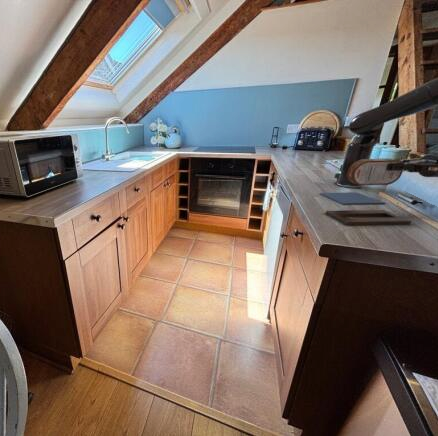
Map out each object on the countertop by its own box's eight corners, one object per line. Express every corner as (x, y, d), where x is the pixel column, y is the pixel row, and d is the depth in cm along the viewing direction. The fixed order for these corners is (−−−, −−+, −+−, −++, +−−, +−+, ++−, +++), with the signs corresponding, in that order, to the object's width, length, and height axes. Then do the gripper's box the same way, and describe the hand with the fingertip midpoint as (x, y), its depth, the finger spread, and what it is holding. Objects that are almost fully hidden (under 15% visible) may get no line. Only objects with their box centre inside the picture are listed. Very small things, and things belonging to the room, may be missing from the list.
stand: (325, 213, 87) (326, 210, 86) (382, 213, 86) (383, 209, 86) (346, 225, 78) (347, 221, 77) (410, 224, 77) (411, 221, 77)
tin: (393, 183, 81) (400, 157, 78) (401, 185, 78) (409, 158, 75) (344, 184, 83) (349, 159, 80) (350, 186, 80) (356, 160, 77)
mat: (320, 194, 108) (320, 193, 108) (356, 193, 108) (356, 192, 108) (343, 204, 95) (343, 203, 95) (384, 203, 95) (384, 202, 95)
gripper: (427, 150, 81) (371, 151, 83) (475, 155, 68) (407, 157, 70) (419, 172, 84) (364, 173, 86) (463, 181, 71) (398, 182, 73)
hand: (384, 166), depth 78 cm, fingers closed on tin, 2 cm apart
